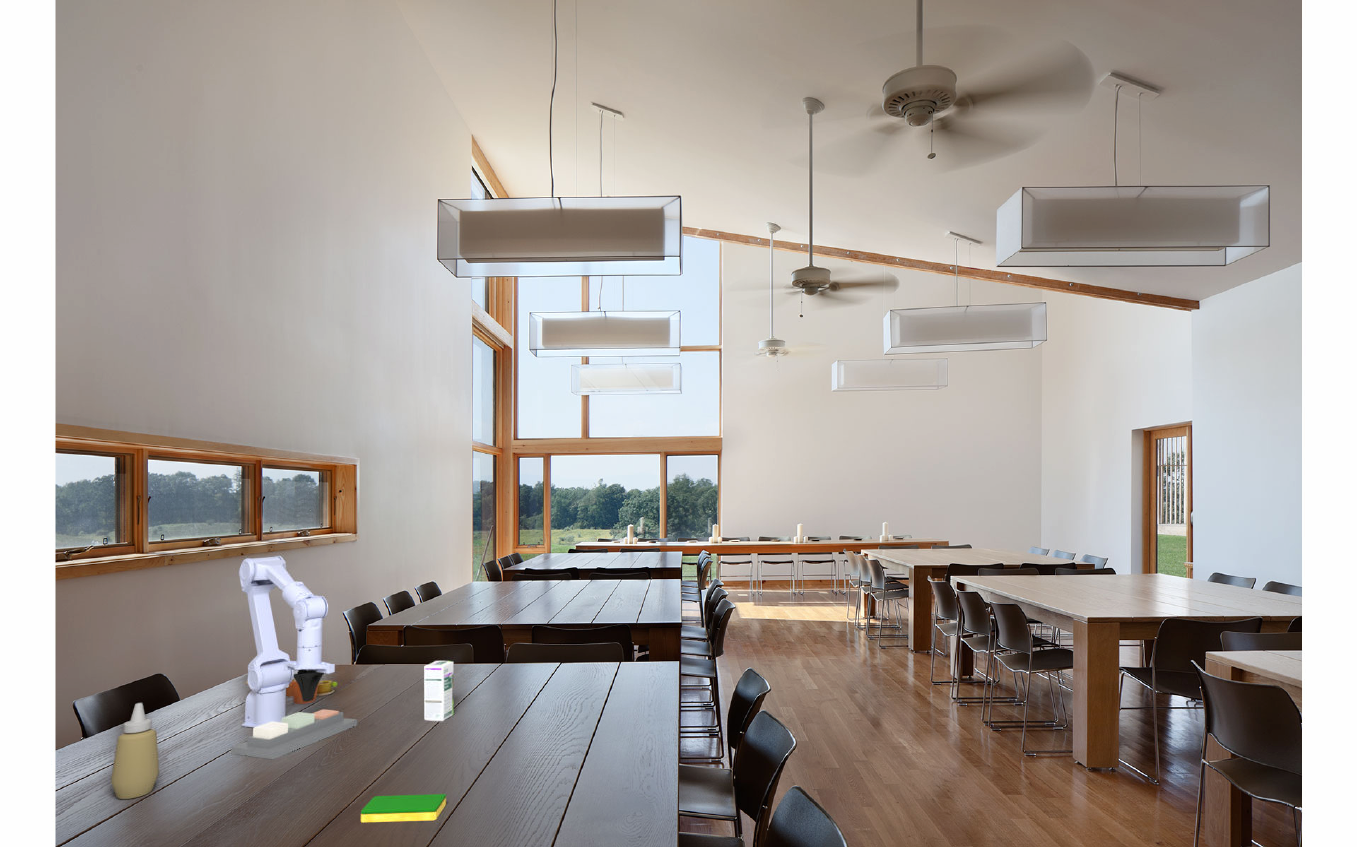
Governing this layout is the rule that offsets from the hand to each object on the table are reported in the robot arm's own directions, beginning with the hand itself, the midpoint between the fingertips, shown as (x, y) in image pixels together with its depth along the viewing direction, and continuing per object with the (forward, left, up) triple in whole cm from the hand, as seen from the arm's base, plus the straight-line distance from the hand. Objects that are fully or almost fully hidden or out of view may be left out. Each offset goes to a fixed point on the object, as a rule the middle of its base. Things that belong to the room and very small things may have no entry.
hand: (308, 700), depth 190 cm
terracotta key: (0, +5, -7) cm, 9 cm away
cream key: (0, -11, -5) cm, 12 cm away
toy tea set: (-34, +25, -9) cm, 43 cm away
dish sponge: (+55, -30, -9) cm, 64 cm away
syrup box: (+23, +22, -9) cm, 33 cm away
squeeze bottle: (-4, -40, -9) cm, 41 cm away
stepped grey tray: (0, -3, -8) cm, 9 cm away
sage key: (0, -3, -5) cm, 6 cm away
